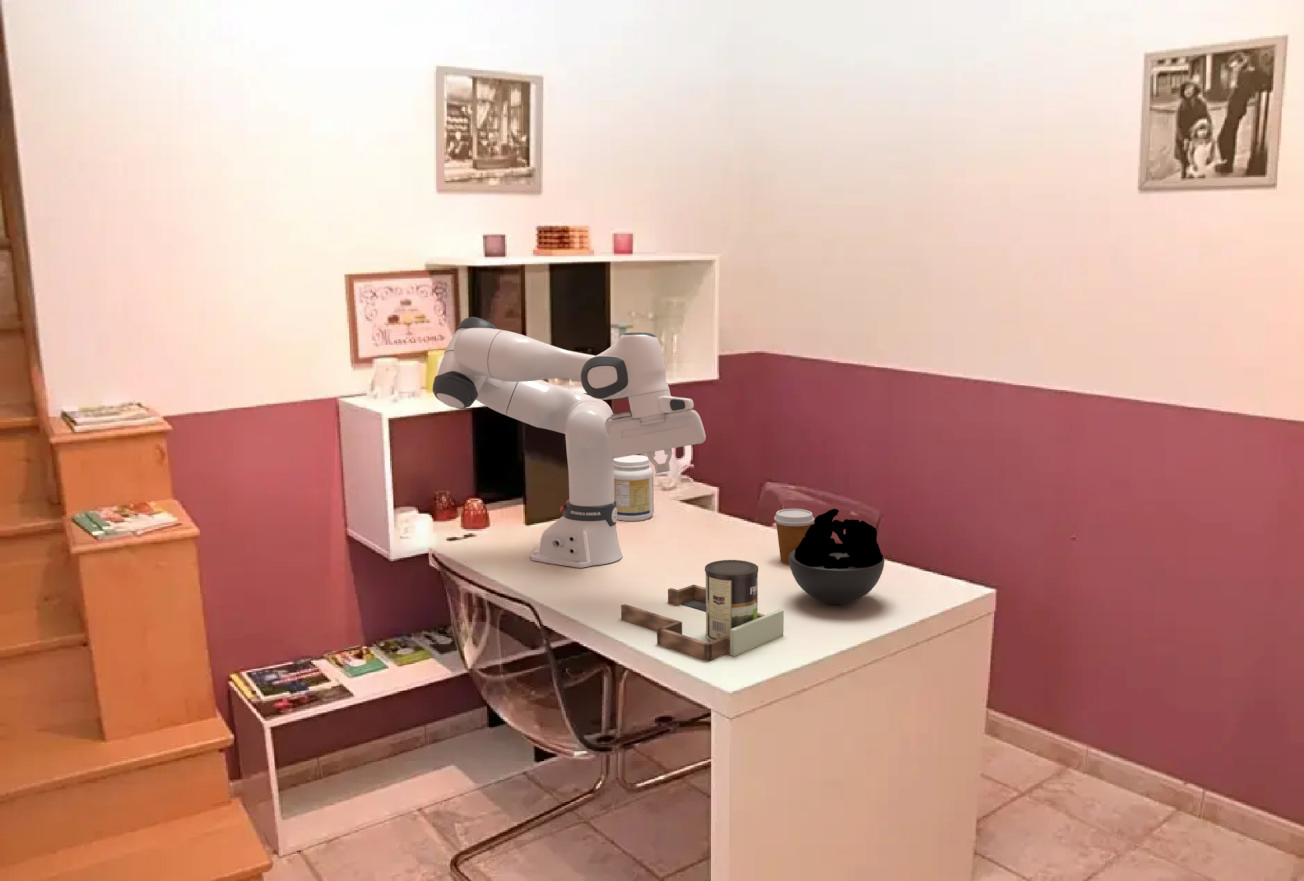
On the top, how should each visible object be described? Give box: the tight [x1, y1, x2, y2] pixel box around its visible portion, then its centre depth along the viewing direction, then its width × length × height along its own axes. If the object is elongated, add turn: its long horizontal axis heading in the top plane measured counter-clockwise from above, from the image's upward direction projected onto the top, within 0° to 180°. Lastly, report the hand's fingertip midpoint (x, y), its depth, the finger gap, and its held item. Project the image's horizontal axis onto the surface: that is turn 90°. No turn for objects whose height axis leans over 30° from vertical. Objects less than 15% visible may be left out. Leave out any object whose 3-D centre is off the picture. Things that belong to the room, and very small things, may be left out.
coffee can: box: [704, 559, 759, 642], centre depth 204 cm, size 10×10×14 cm
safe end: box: [729, 608, 785, 657], centre depth 200 cm, size 1×15×5 cm, turn 136°
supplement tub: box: [613, 454, 655, 522], centre depth 298 cm, size 12×12×17 cm
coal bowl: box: [788, 508, 885, 605], centre depth 223 cm, size 20×20×19 cm
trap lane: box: [620, 584, 765, 662], centre depth 211 cm, size 29×25×3 cm
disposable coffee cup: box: [773, 508, 815, 566], centre depth 253 cm, size 10×10×12 cm
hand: (663, 472), depth 221 cm, fingers closed
